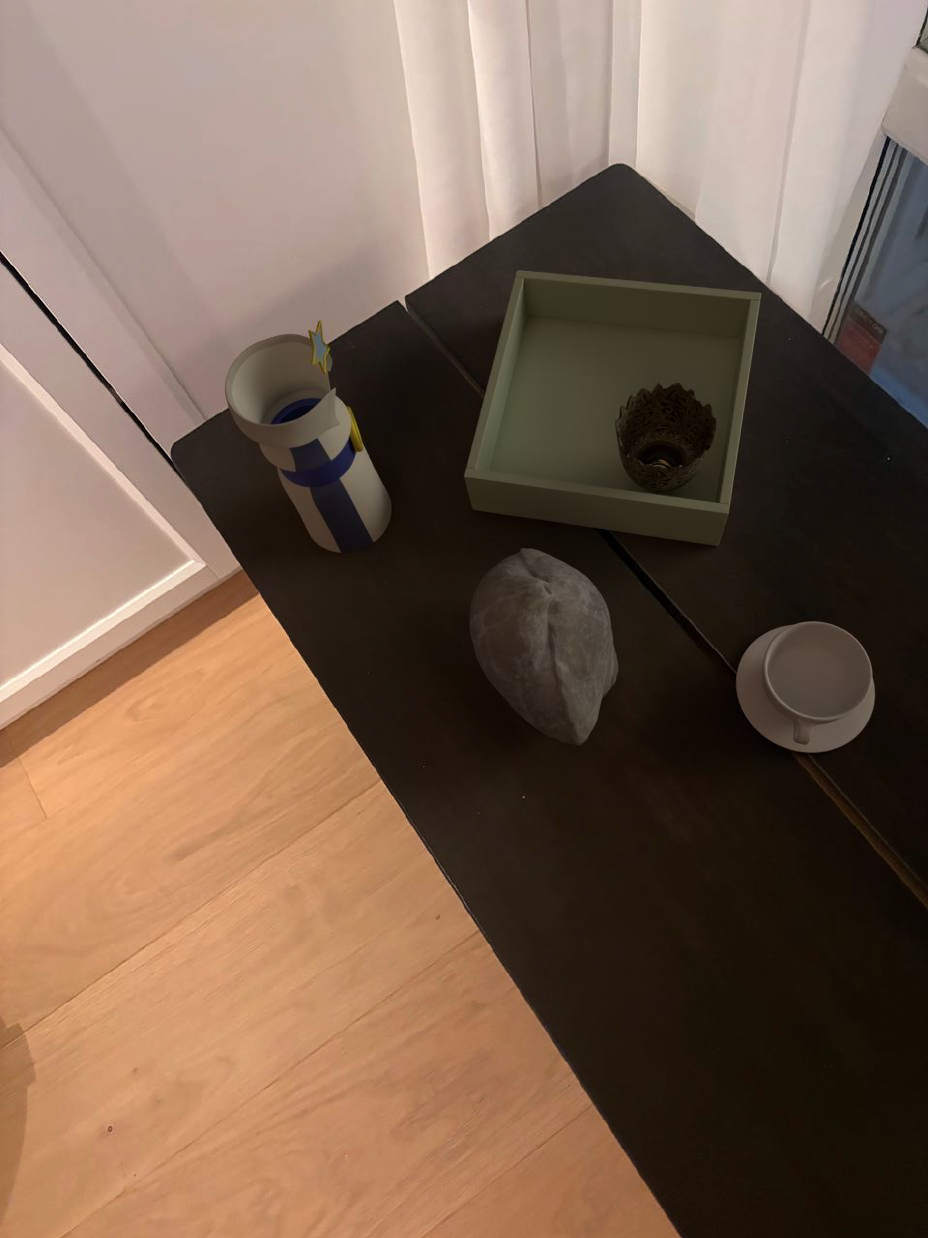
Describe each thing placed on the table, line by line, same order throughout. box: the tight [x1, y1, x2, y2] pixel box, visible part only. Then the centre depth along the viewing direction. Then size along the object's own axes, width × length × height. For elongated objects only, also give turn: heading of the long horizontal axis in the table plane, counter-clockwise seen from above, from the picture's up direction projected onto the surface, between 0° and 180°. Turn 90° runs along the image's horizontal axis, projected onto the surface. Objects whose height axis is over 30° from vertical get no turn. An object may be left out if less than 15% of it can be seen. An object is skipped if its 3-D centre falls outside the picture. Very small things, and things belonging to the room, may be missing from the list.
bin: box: [463, 269, 762, 547], centre depth 76 cm, size 21×21×6 cm
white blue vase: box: [224, 319, 393, 554], centre depth 68 cm, size 8×9×25 cm
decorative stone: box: [468, 547, 619, 747], centre depth 65 cm, size 15×10×15 cm
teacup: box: [735, 620, 876, 753], centre depth 67 cm, size 10×10×5 cm
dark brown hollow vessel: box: [615, 383, 717, 493], centre depth 72 cm, size 8×7×8 cm
